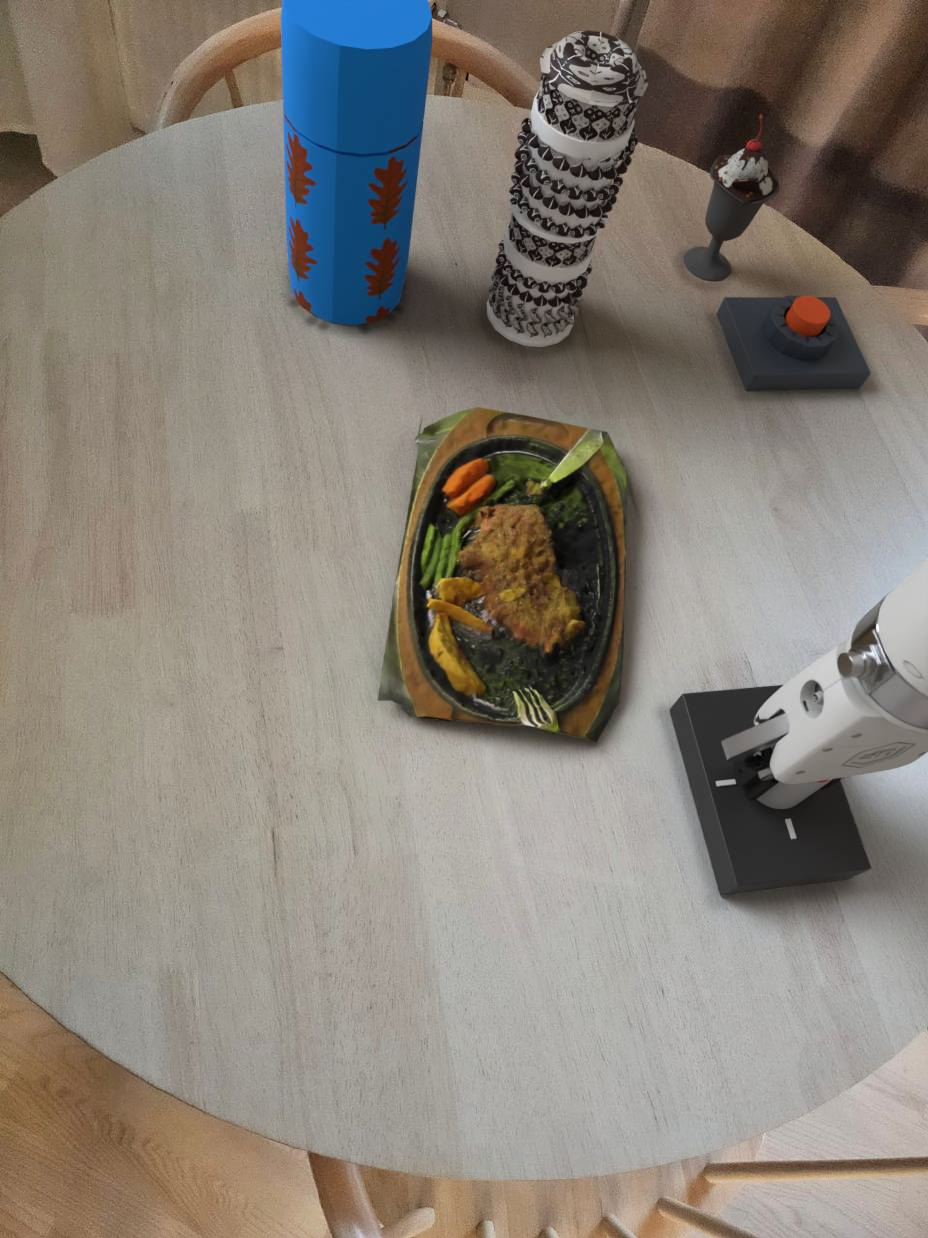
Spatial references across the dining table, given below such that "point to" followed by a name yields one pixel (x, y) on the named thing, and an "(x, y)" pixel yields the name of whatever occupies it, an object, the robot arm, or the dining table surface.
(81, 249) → the dining table surface
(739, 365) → the switch block
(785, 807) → the knob
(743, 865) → the dial panel
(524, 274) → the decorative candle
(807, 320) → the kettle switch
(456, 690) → the prepared meal
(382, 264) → the thermos
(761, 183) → the sundae
